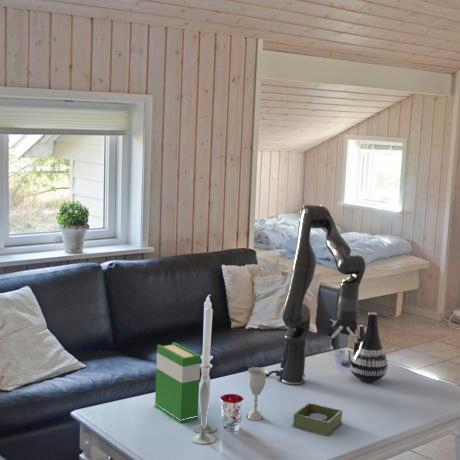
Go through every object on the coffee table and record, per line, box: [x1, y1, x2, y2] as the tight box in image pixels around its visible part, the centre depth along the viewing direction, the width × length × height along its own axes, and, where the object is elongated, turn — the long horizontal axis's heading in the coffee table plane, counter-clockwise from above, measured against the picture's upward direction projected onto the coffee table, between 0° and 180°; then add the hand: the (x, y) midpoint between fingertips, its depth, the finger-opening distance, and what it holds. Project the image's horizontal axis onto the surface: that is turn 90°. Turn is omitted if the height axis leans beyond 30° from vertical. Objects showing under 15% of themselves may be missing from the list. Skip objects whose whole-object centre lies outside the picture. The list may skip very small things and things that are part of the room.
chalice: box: [247, 366, 268, 421], centre depth 286 cm, size 7×7×18 cm
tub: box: [292, 402, 343, 436], centre depth 283 cm, size 13×13×5 cm
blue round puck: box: [310, 413, 327, 421], centre depth 284 cm, size 6×6×2 cm
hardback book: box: [154, 341, 202, 424], centre depth 286 cm, size 18×7×24 cm, turn 37°
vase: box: [349, 311, 389, 384], centre depth 331 cm, size 16×16×30 cm
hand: (344, 349), depth 295 cm, fingers open, 8 cm apart
